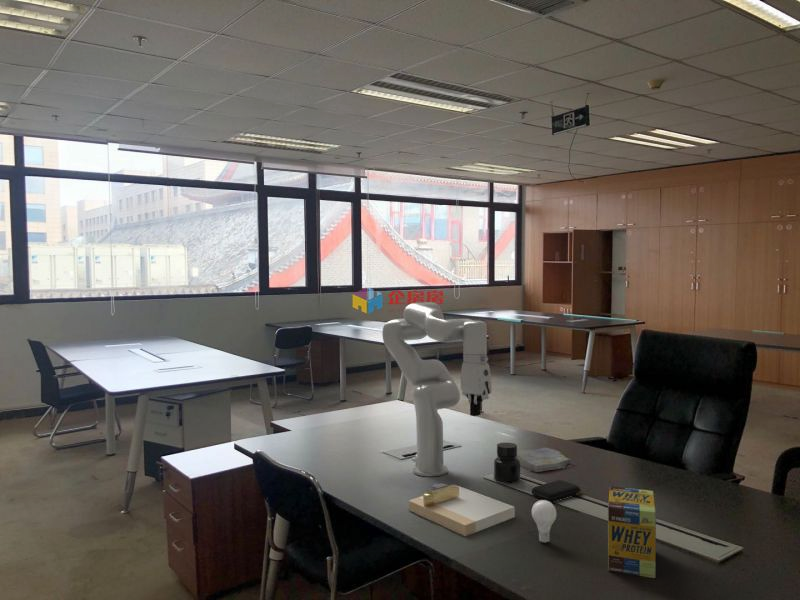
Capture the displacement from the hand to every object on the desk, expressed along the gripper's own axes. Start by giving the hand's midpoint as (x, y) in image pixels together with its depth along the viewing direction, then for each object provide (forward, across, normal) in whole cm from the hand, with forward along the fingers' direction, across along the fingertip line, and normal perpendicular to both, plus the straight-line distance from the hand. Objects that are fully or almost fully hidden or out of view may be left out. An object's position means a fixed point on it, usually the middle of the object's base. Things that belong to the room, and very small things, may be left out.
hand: (475, 415), depth 194 cm
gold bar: (+22, -5, +20) cm, 30 cm away
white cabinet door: (+25, -10, +18) cm, 32 cm away
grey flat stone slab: (+26, +5, -40) cm, 48 cm away
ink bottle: (+25, +1, -16) cm, 30 cm away
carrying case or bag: (+25, -19, -17) cm, 36 cm away
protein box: (+25, -58, +6) cm, 64 cm away
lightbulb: (+25, -38, +14) cm, 48 cm away
